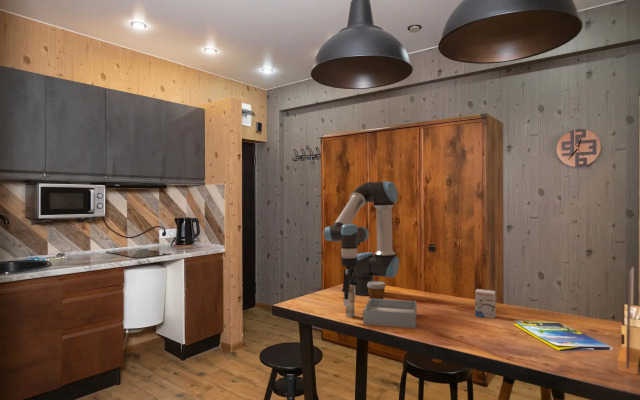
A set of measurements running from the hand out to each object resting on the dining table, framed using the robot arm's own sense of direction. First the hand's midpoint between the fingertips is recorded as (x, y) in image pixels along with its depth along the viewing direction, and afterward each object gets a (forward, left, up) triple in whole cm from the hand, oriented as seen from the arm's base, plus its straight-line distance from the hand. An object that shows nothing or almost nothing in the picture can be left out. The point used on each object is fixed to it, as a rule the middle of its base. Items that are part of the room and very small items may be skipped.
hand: (349, 302), depth 178 cm
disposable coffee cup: (-19, +10, -7) cm, 23 cm away
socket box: (0, +19, -7) cm, 20 cm away
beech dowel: (0, 0, -7) cm, 7 cm away
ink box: (-14, +61, -7) cm, 63 cm away
